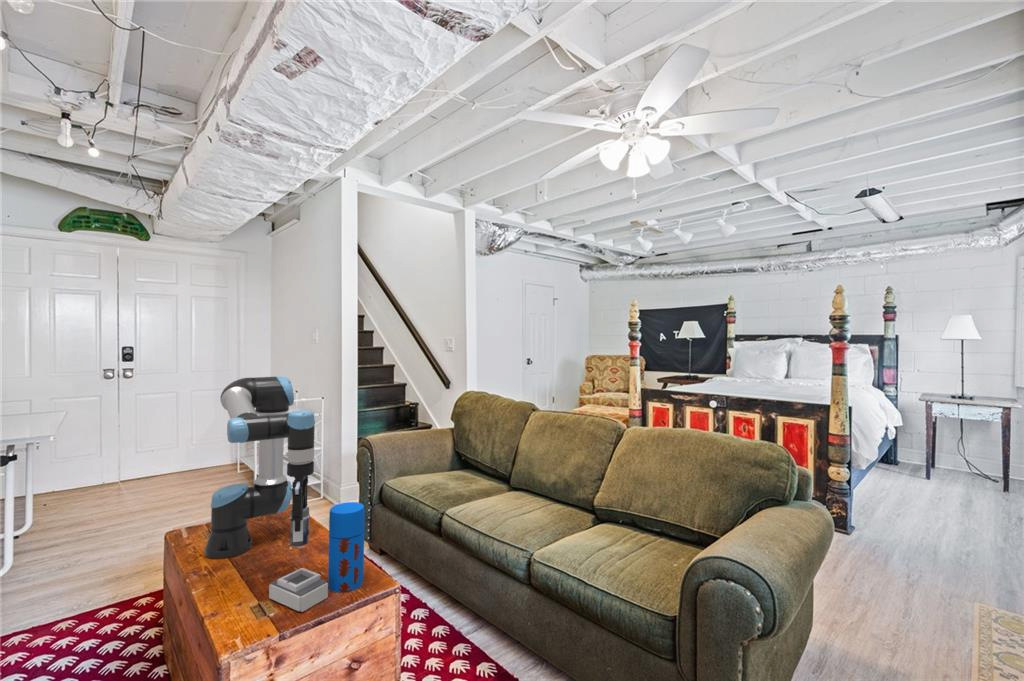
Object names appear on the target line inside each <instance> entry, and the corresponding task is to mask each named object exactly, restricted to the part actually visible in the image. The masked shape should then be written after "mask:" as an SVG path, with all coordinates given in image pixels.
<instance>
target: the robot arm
mask: <svg viewBox="0 0 1024 681" xmlns="http://www.w3.org/2000/svg"><path fill="white" fill-rule="evenodd" d="M293 388H294V387H293V384H292V383H291V379H289V378H288V377H287V376H261V377H260V376H259V377H243V378H239V379H236V380H233V381H232V382H230V383H229V384H228V385H226V387H224V389H223V390H222V391H221V394H220V403H221V406H222V407H223V409H224V410H226V411H227V412H228V413H227V414H228V416H229V420H228V421H227V424H226V425H227V426H226V435H227V436H226V437H227V440H228V442H229V443H230V444H235V443H236V444H237V443H240V444H243V443H249V442H258V441H259V443H258V449H259V450H258V476H257V478H255V479H254V481H253V486H248V484H246V483H234V484H229V485H226V486H224V487H221V488H219V489H217V490H216V491H215V492H214V493H212V495H211V503H210V508H211V509H210V510H211V511H210V512H211V513H210V514H211V516H210V534H209V536H208V538H207V541H206V544H205V547H204V555H205V557H206V558H208V559H214V560H215V559H216V560H217V559H218V560H219V559H227V558H232V557H235V556H239V555H241V554H243V553H246V552H248V551H249V550H250V549H251V548H252V546H253V539H252V536H251V533H250V530H249V528H248V519H249V520H250V519H254V518H260V517H264V516H271V515H277V514H279V513H282V512H283V513H284V512H286V511H287V510H288V509H289V507H290V505H291V500H292V508H291V510H292V519H290V518H289V521H293V542H300V541H303V517H302V516H303V507H306V508H309V509H310V507H309V506H308V485H309V484H308V483H309V476H311V475H312V474H314V472H315V461H314V459H315V424H316V421H315V420H316V419H315V412H314V411H312V410H306V409H304V410H303V409H302V410H293V411H291V412H289V410H290V407H291V406H293V405H294V400H295V395H294V389H293ZM285 439H287V450H286V451H285V455H287V459H286V460H287V462H288V463H287V465H286V474H287V476H288V477H291V478H294V480H293V481H292V482H291V481H290V480H288V477H287V476H286V475H285V474H284V446H285V442H284V440H285Z"/></svg>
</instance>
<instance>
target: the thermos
mask: <svg viewBox="0 0 1024 681" xmlns="http://www.w3.org/2000/svg"><path fill="white" fill-rule="evenodd" d="M365 513H366V512H365V506H364V504H363V503H361V502H357V501H354V502H353V501H351V502H342V503H338V504H334V505H332V506H331V507H330V509H329V513H328V514H329V515H328V516H329V518H328V520H329V521H328V523H329V524H328V530H329V531H328V533H329V534H328V572H327V573H328V574H327V575H328V590H330V591H331V592H333V593H336V594H337V593H338V594H339V593H340V594H344V593H350V592H353V591H355V590H358V588H361V586H362V585H363V583H364V570H365V569H364V568H365V567H364V565H365V564H364V563H365V518H366V517H365Z"/></svg>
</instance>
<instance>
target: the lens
mask: <svg viewBox="0 0 1024 681" xmlns="http://www.w3.org/2000/svg"><path fill="white" fill-rule="evenodd" d="M310 514H311V513H310V507H309V508H307V507H303V516H302V517H303V541H300V542H293V521H290V519H292V509H291V510H290V516H289V521H290V524H289V526H290V529H289V530H290V531H289V545H290V546H291V547H302V546H305V545H307V544H309V543H310V542H309V540H310V536H309V535H310V516H311V515H310Z"/></svg>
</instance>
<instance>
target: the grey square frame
mask: <svg viewBox="0 0 1024 681" xmlns="http://www.w3.org/2000/svg"><path fill="white" fill-rule="evenodd" d="M268 587H269V588H268V589H269V590H268V598H269V599H270V600H272V601H275V602H277V603H279V604H282V605H283V606H286V607H288V608H290V609H292V610H295V611H296V612H299V613H303V612H306V611H307V610H308V609H310V608H312V607H314V606H315V605H317V604H318V603H320V602H322V601H324V600H326V599H327V598H329V582H327V580H324V579H322V578H321V574H320V573H318V572H315V571H313V570H309V569H307V568H304V567H301V568H298V569H296V570H294V571H292V572H289V573H288V574H286V575H284V576H281V577H279V578H277V579H275V580H273V581H271V582H270V584H268Z"/></svg>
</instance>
